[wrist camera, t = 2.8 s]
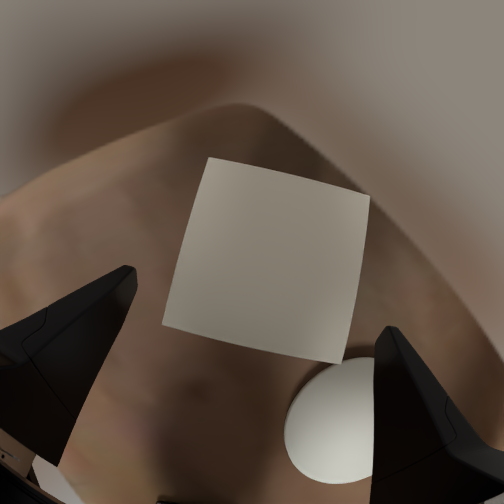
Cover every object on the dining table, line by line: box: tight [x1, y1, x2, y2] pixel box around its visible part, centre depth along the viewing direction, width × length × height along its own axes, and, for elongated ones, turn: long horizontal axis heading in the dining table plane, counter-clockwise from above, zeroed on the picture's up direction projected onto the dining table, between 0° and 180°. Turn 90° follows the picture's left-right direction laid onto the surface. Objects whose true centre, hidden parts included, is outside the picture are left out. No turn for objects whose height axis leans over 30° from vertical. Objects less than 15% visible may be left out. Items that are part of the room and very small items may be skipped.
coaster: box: [284, 357, 374, 484], centre depth 17 cm, size 10×10×1 cm
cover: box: [162, 157, 370, 364], centre depth 14 cm, size 6×6×10 cm
